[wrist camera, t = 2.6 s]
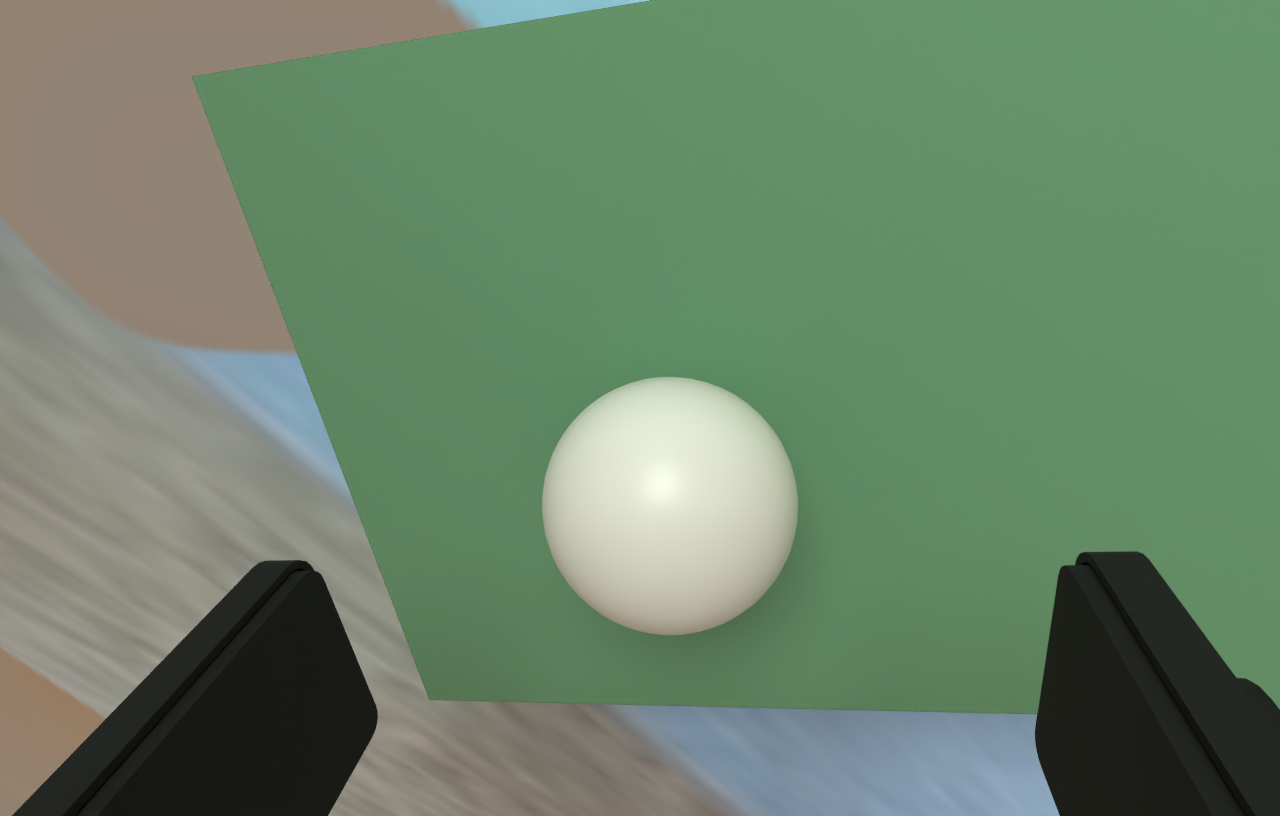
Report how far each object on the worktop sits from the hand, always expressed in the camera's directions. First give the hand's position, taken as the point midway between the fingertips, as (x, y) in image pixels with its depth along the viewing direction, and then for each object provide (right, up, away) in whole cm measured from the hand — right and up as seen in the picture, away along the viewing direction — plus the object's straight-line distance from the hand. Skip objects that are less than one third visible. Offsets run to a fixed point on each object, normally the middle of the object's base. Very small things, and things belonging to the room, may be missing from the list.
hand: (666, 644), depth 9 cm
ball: (0, +2, +2) cm, 3 cm away
